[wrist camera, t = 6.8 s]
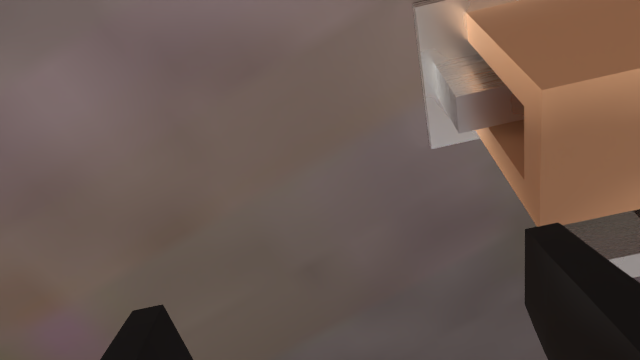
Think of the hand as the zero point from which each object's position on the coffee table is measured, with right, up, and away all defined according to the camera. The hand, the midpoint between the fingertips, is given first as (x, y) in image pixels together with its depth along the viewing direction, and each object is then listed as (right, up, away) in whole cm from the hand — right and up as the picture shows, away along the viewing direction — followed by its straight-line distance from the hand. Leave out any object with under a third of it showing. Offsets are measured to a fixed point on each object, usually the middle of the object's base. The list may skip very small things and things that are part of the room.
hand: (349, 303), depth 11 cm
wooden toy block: (+10, +1, +11) cm, 15 cm away
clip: (+8, +7, +7) cm, 12 cm away
